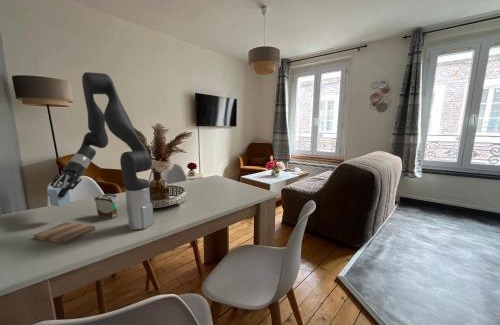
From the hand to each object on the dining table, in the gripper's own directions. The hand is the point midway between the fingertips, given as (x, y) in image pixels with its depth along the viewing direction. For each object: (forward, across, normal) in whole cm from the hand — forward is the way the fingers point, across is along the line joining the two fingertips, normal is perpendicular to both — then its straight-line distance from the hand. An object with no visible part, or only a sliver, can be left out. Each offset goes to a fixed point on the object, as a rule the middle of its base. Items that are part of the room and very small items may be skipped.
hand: (54, 196), depth 98 cm
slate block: (+2, 0, +4) cm, 5 cm away
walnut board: (+14, +14, +4) cm, 20 cm away
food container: (0, +16, +18) cm, 24 cm away
